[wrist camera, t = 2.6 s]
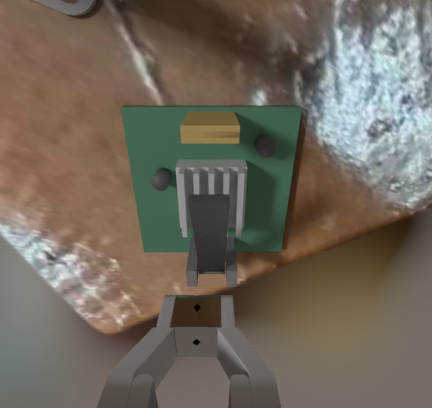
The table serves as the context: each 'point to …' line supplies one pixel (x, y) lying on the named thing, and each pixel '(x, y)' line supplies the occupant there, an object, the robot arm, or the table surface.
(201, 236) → the strap
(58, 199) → the table surface
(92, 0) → the network device
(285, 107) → the board
